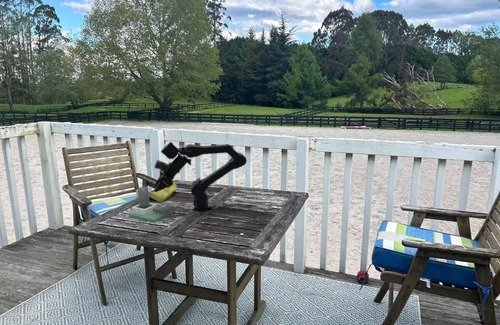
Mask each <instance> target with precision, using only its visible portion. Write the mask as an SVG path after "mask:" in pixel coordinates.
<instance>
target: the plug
mask: <svg viewBox="0 0 500 325" xmlns="http://www.w3.org/2000/svg"><path fill="white" fill-rule="evenodd" d="M149 190H150V189H149V187H148V186H142V187H138V188H137V189H136V190H135V195H136V199H138V205H139V208H142V209H146V208H148V207H150V199H149Z"/></svg>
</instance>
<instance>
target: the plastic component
mask: <svg viewBox="0 0 500 325" xmlns="http://www.w3.org/2000/svg"><path fill="white" fill-rule="evenodd" d="M177 187H178V186H177V184H176V183H175V182H173V185H172V186H171V187H167V188H165V189H162V190H160V191H158V192H154V191H153V192H152V190H151V191H149V200H150V199H151V198H152V199H153V200H155V201H156V202H160V203H162V202H165V201H166V200H167V199H169V197H171V196H172V195H173V193H174V192H175V190H177Z"/></svg>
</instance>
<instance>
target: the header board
mask: <svg viewBox="0 0 500 325" xmlns="http://www.w3.org/2000/svg"><path fill="white" fill-rule="evenodd" d="M174 213H175V206H174V205H169V204H160V205H158V204H156V203H152V202H151V203H150V207H148V208H146V209H142V208H139V204H136V205H134V206H131V213H129V215H128V216H129V217H130V218H133V219H138V220H142V221H148V222H152V223H157V222H159V221H160V220H162V219H164V218H166V217H167V216H170V215H172V214H174Z"/></svg>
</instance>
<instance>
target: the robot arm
mask: <svg viewBox="0 0 500 325" xmlns="http://www.w3.org/2000/svg"><path fill="white" fill-rule="evenodd" d="M160 153H161V154H162V155H164V156H165V157H166V158H167V159H168V160H172V161H171V162H169V163H166V162H164V161H162V160H159V159H157V160H156V162H155V164H154V169H157V170H159V176H158V178H157V180H156V182H155V183H154V187H155V189H154V190H153V192H158V191H160V190H162V189H165V188H167V187H171V186H172V185H173V183H174V179H175V177H176V175H177V174H179V173H180V172H181V170H182V169H183V168H184V167H185V166H186V164H188V165H189V166H191V165H192V159H193V158H196V157H199V156H202V155H213V154H214V155H215V154H228V155H229V156H230V159H229V160H228V161H227V162H226V163H225V164H224V165H222V166H221V167H220V168H217V169H216V170H215V171H213V172H212V173H211V174H208V176H206V177H204V178H202V179H201V178H200V177H198V178H196V180H193V181H192V183H191V184H190V192H191V195H192V196H193V208H192V210H193V211H198V212H205V211H207V210H208V209H211V208H210V207H211V206H210V205H209V200H208V199H209V197H208V193H207V189H208V188H209V187H210V186H212V185H213V184H214V183H215V182H217V181H218V180H221V178H222V177H224V176H226V175H227V174H228V173H230V172H232V171H234V170H236V169H240V168H242V167H244V166H245V165H246V164H247V157H246V156H245V154H244V153H241V152H238V151H237V150H235V148H234V147H232V146H231V144H229V143H226V144H214V145H213V144H212V145H198V144H190V143H188V144H186V145H185V146H184V147H183V146H182V147H179V148H178V147H177V146H176V145H174V143H173V142H172V141H170V142H169V143H167V144H166V145H165V146H163V147H162V149H161V150H160Z"/></svg>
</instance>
